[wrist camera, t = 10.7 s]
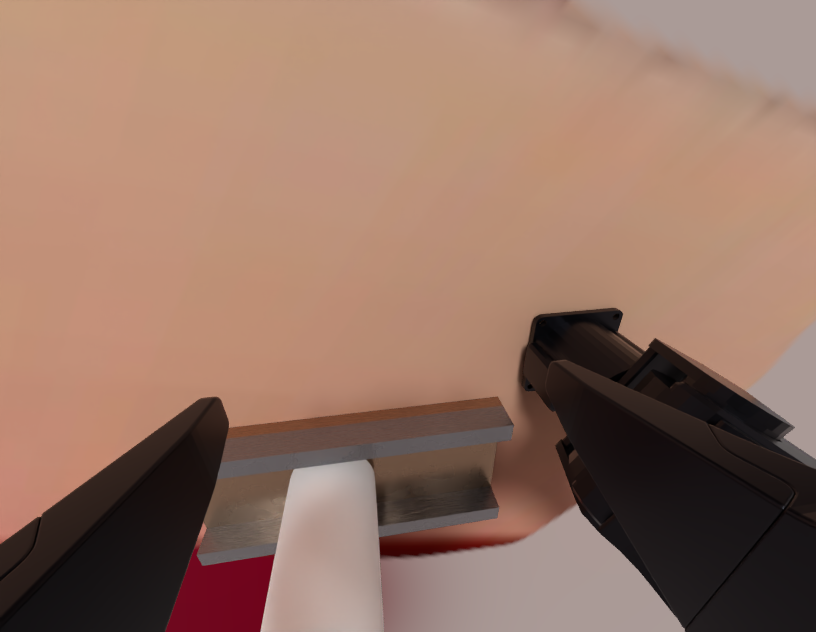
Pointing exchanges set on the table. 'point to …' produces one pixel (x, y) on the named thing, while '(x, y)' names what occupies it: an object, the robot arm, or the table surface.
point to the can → (327, 553)
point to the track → (351, 441)
